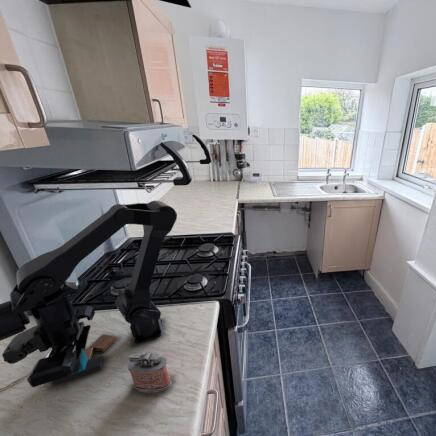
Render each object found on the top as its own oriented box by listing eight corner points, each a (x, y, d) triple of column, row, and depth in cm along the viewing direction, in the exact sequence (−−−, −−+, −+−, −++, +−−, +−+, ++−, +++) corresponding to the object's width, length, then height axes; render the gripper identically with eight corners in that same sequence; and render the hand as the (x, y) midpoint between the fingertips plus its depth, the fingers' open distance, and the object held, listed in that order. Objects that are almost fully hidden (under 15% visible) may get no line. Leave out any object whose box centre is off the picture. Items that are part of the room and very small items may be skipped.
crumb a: (94, 350, 62) (92, 347, 61) (90, 363, 58) (88, 360, 58) (74, 356, 60) (73, 352, 59) (69, 370, 57) (67, 366, 56)
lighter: (174, 377, 56) (167, 348, 52) (167, 392, 53) (159, 362, 49) (139, 377, 56) (130, 348, 52) (131, 392, 53) (120, 362, 49)
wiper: (104, 359, 60) (98, 343, 57) (101, 369, 57) (95, 353, 55) (58, 373, 56) (50, 357, 54) (53, 385, 53) (44, 368, 51)
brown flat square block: (116, 339, 65) (115, 336, 65) (104, 352, 61) (103, 348, 61) (103, 337, 65) (102, 334, 65) (90, 349, 62) (89, 346, 61)
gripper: (26, 298, 54) (49, 346, 60) (-31, 369, 39) (8, 424, 45) (86, 286, 59) (102, 331, 65) (57, 345, 43) (82, 398, 49)
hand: (77, 365), depth 56 cm, fingers closed on wiper, 3 cm apart
